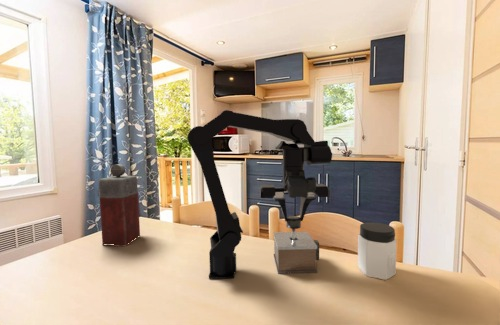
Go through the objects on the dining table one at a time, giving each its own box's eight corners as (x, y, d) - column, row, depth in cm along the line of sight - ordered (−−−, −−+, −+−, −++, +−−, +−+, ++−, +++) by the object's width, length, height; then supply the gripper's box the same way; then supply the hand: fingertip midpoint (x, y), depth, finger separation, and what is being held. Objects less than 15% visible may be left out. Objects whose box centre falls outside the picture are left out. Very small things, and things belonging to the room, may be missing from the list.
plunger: (281, 262, 66) (281, 223, 65) (278, 250, 74) (277, 214, 73) (311, 262, 66) (311, 222, 65) (304, 249, 74) (304, 213, 73)
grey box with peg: (277, 273, 65) (277, 246, 64) (273, 255, 75) (273, 232, 74) (323, 272, 65) (323, 245, 64) (313, 254, 75) (313, 231, 74)
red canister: (143, 234, 95) (140, 162, 93) (125, 246, 84) (121, 165, 82) (122, 233, 96) (118, 162, 94) (102, 245, 85) (96, 165, 83)
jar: (382, 283, 59) (383, 235, 58) (352, 269, 66) (352, 226, 65) (400, 272, 64) (402, 227, 63) (370, 260, 71) (371, 220, 70)
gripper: (261, 169, 60) (262, 231, 61) (337, 168, 60) (336, 230, 61) (259, 165, 71) (260, 218, 72) (323, 164, 71) (323, 216, 72)
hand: (293, 220), depth 69 cm, fingers closed on plunger, 4 cm apart
